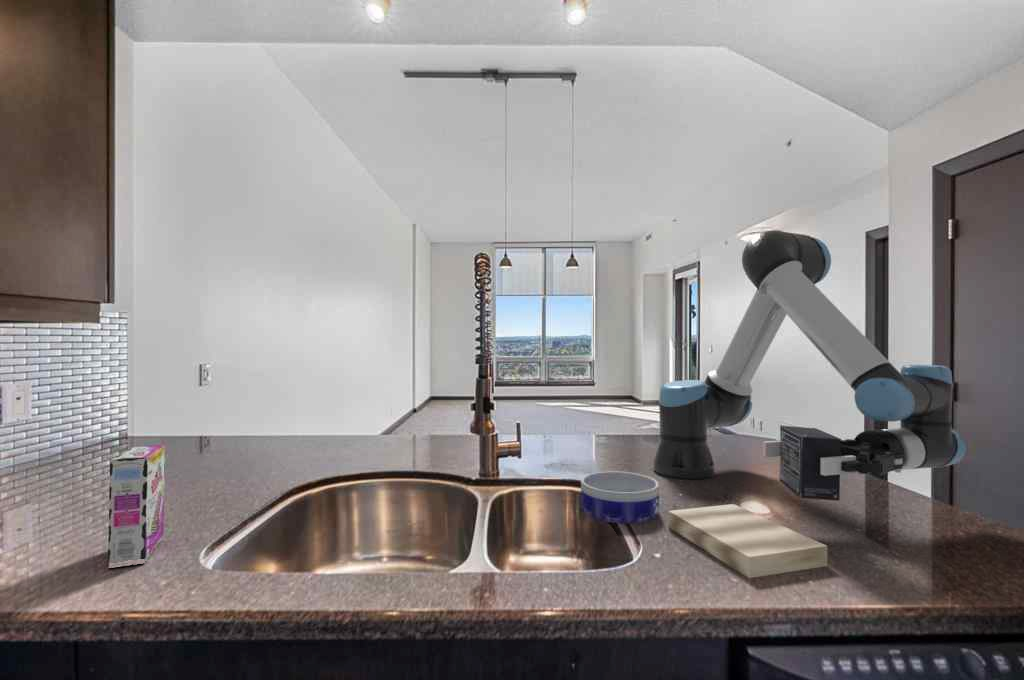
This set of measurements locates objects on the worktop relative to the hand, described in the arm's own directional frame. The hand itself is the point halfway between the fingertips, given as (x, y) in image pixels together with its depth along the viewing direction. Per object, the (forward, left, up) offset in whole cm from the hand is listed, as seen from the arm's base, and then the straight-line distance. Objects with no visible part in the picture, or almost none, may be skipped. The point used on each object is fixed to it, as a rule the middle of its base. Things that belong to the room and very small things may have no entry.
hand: (791, 457), depth 85 cm
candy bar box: (-23, -106, -14) cm, 110 cm away
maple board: (+1, -11, -14) cm, 18 cm away
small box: (0, +4, -6) cm, 7 cm away
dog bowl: (-20, -22, -14) cm, 33 cm away
